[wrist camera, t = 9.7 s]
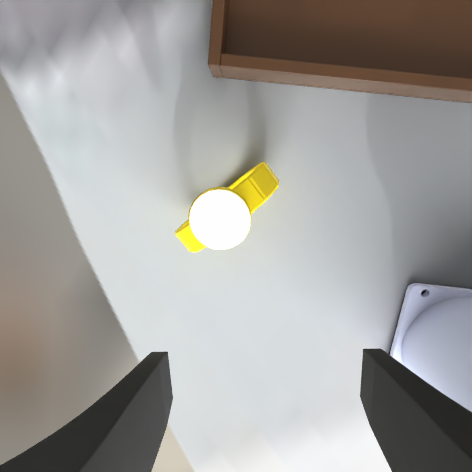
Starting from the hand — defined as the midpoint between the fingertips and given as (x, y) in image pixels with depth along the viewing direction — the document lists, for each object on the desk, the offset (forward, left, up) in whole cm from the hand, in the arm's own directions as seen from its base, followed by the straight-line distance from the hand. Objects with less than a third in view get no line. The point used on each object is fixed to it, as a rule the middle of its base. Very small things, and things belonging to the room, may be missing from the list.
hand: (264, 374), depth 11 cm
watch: (+2, -5, -10) cm, 11 cm away
